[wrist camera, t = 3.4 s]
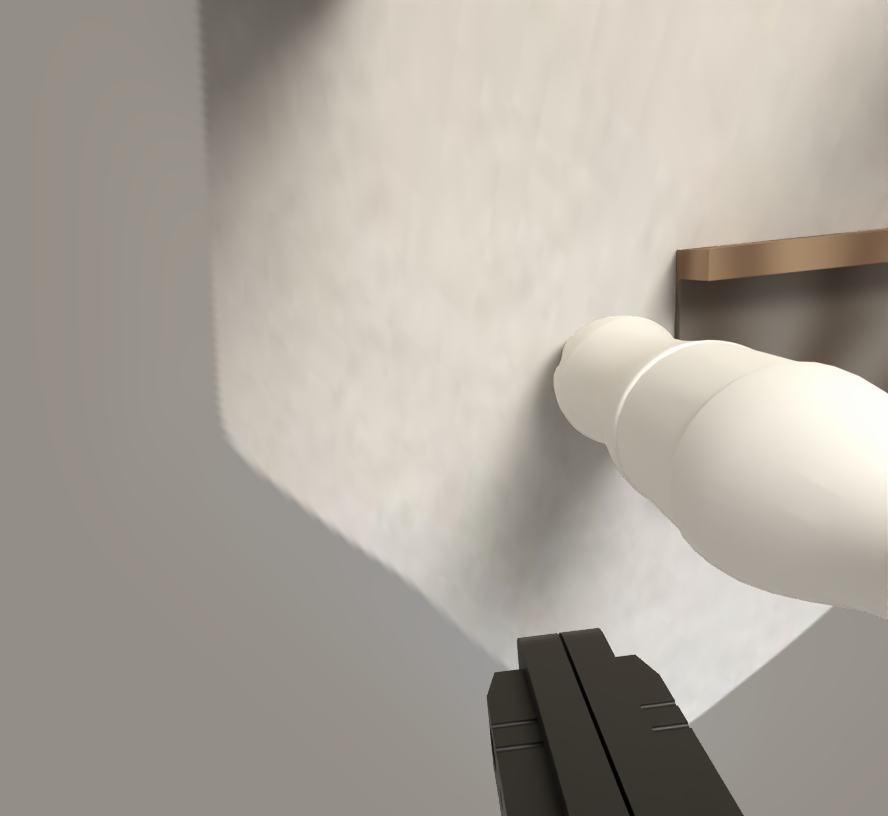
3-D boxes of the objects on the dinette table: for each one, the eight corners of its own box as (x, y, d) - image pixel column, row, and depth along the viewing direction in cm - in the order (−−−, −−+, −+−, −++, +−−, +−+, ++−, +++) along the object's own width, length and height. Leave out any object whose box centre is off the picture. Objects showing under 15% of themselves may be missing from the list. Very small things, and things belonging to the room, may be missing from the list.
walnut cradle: (673, 463, 35) (701, 485, 31) (677, 250, 31) (709, 249, 28) (929, 433, 35) (984, 452, 32) (961, 220, 32) (1027, 216, 28)
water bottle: (584, 448, 34) (997, 901, 10) (520, 358, 32) (840, 645, 8) (681, 382, 33) (1382, 699, 9) (622, 286, 32) (1297, 370, 8)
